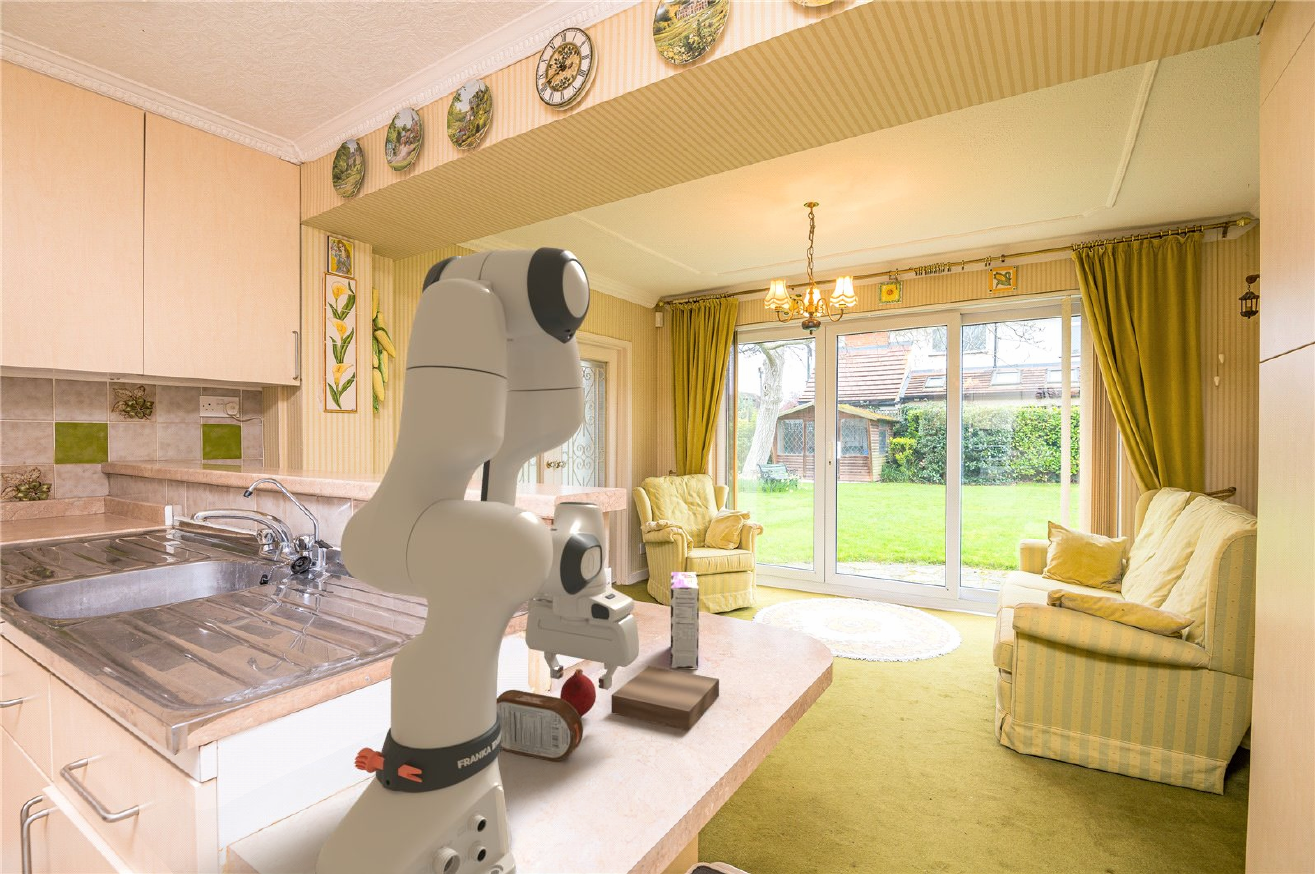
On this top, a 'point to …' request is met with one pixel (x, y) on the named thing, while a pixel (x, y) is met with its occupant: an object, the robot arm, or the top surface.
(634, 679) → the walnut block
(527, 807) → the top surface
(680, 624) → the candy box
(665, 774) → the top surface
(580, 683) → the onion
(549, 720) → the tin
